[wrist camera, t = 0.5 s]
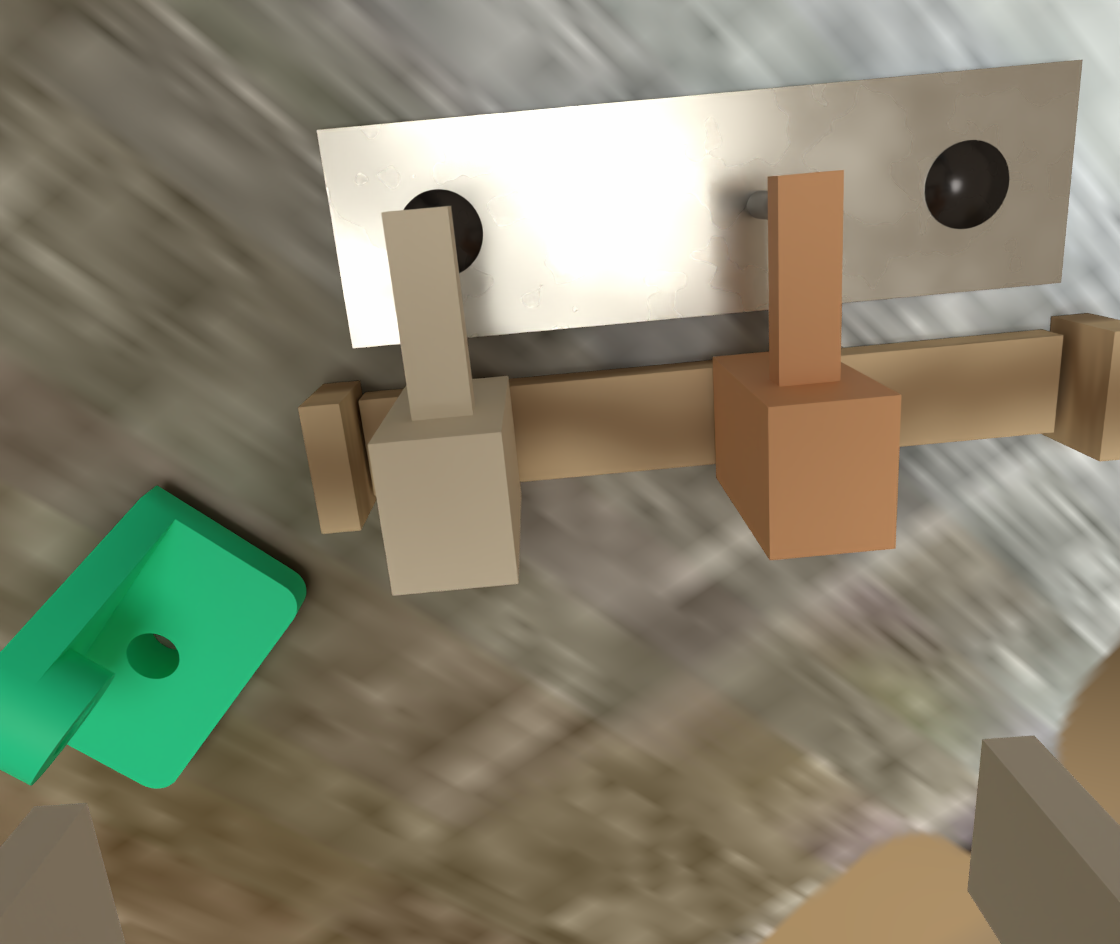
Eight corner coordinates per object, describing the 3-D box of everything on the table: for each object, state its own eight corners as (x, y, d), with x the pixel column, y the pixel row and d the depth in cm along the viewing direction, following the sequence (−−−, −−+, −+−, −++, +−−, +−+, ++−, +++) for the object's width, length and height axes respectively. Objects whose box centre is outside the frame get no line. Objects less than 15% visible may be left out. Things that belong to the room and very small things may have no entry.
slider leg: (706, 181, 31) (765, 177, 23) (814, 171, 31) (910, 164, 23) (715, 476, 35) (769, 560, 27) (812, 467, 35) (895, 548, 27)
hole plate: (323, 131, 32) (316, 129, 31) (1066, 63, 32) (1083, 59, 31) (357, 344, 34) (352, 348, 33) (1046, 280, 34) (1062, 282, 33)
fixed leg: (381, 211, 31) (329, 217, 23) (489, 201, 31) (475, 204, 23) (424, 503, 35) (392, 595, 27) (521, 494, 35) (518, 583, 27)
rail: (323, 384, 35) (298, 407, 31) (1087, 313, 35) (1155, 327, 31) (343, 498, 36) (322, 533, 33) (1075, 430, 36) (1138, 457, 33)
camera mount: (186, 759, 40) (76, 939, 31) (37, 677, 39) (-129, 840, 29) (321, 573, 38) (248, 707, 28) (167, 476, 36) (32, 582, 26)
